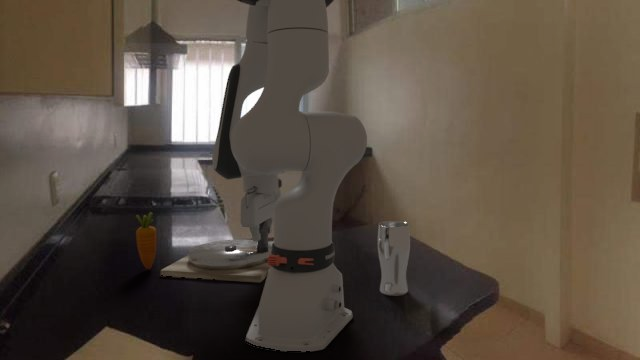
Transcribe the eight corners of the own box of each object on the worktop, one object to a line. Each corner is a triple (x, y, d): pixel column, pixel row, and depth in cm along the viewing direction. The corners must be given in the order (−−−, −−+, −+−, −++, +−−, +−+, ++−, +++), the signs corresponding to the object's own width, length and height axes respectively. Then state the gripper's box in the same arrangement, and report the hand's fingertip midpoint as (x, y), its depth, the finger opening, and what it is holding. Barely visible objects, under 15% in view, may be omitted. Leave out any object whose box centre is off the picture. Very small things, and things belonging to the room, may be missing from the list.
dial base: (260, 282, 110) (260, 275, 110) (160, 276, 116) (160, 269, 116) (291, 252, 135) (291, 246, 135) (208, 248, 141) (208, 243, 141)
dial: (255, 272, 112) (253, 231, 111) (172, 267, 117) (169, 227, 116) (282, 248, 134) (281, 213, 132) (211, 244, 139) (210, 211, 137)
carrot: (134, 272, 120) (130, 214, 118) (146, 266, 124) (143, 210, 123) (150, 273, 118) (147, 215, 116) (162, 267, 123) (159, 211, 121)
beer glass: (409, 297, 99) (410, 228, 97) (376, 295, 100) (376, 227, 99) (410, 286, 106) (410, 221, 104) (378, 284, 107) (378, 220, 105)
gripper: (257, 190, 110) (259, 247, 112) (284, 179, 130) (285, 228, 132) (232, 189, 112) (235, 246, 113) (262, 179, 131) (264, 228, 133)
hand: (262, 237), depth 123 cm, fingers open, 7 cm apart
